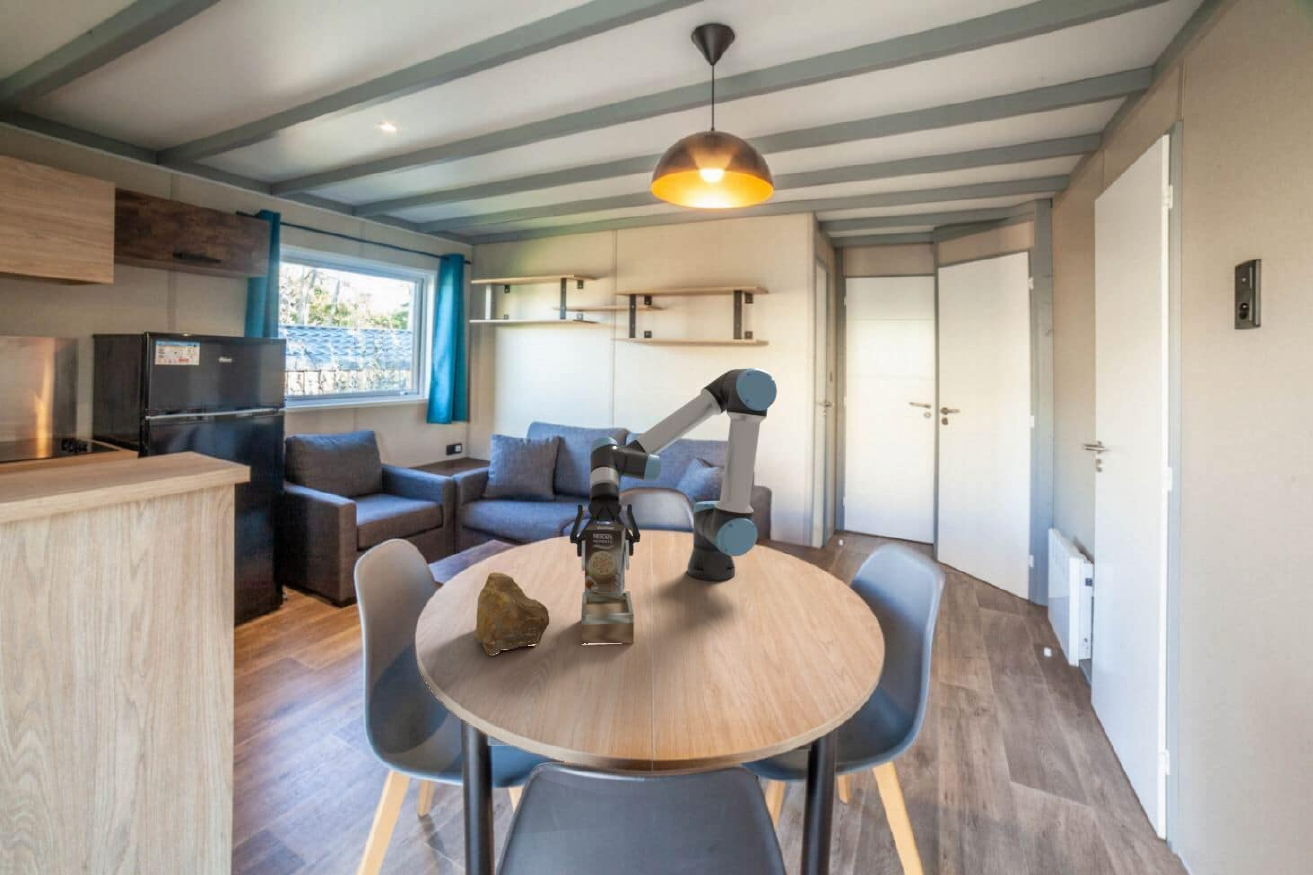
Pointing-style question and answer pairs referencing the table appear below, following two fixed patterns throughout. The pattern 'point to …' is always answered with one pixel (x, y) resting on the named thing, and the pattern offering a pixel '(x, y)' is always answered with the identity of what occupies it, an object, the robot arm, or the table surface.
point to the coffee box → (604, 559)
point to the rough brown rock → (508, 616)
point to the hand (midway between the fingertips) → (605, 567)
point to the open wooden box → (607, 619)
